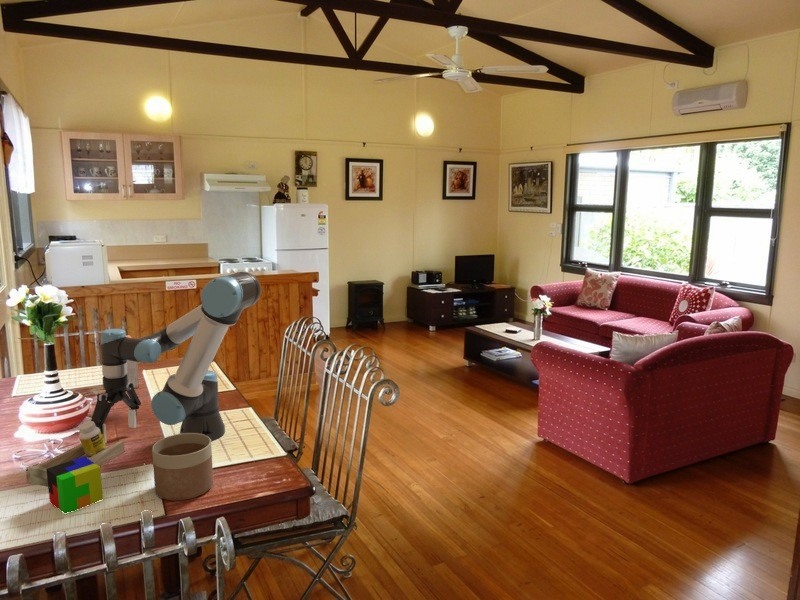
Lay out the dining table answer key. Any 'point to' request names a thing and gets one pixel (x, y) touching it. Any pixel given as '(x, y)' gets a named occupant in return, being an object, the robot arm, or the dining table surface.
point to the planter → (182, 466)
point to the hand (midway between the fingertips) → (117, 434)
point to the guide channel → (40, 474)
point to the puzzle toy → (74, 484)
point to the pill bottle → (91, 439)
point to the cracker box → (132, 372)
